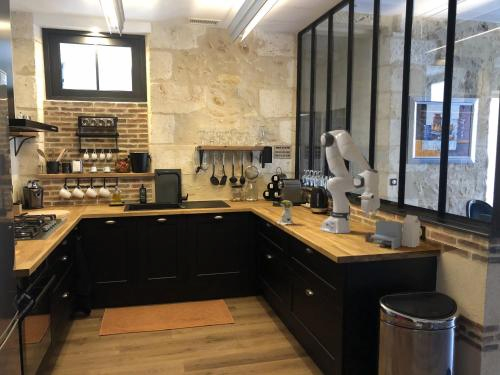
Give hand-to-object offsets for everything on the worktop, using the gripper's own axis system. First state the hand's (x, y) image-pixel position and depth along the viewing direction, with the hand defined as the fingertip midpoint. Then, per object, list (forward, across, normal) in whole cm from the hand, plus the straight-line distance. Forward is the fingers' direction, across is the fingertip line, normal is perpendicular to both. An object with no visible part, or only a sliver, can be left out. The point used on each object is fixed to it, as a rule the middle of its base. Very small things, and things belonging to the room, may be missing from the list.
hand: (370, 216), depth 255 cm
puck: (+16, +6, +11) cm, 20 cm away
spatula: (+16, 0, +6) cm, 17 cm away
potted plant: (+16, -14, -75) cm, 78 cm away
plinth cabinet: (+16, +4, +12) cm, 20 cm away
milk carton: (+16, -5, +23) cm, 29 cm away
